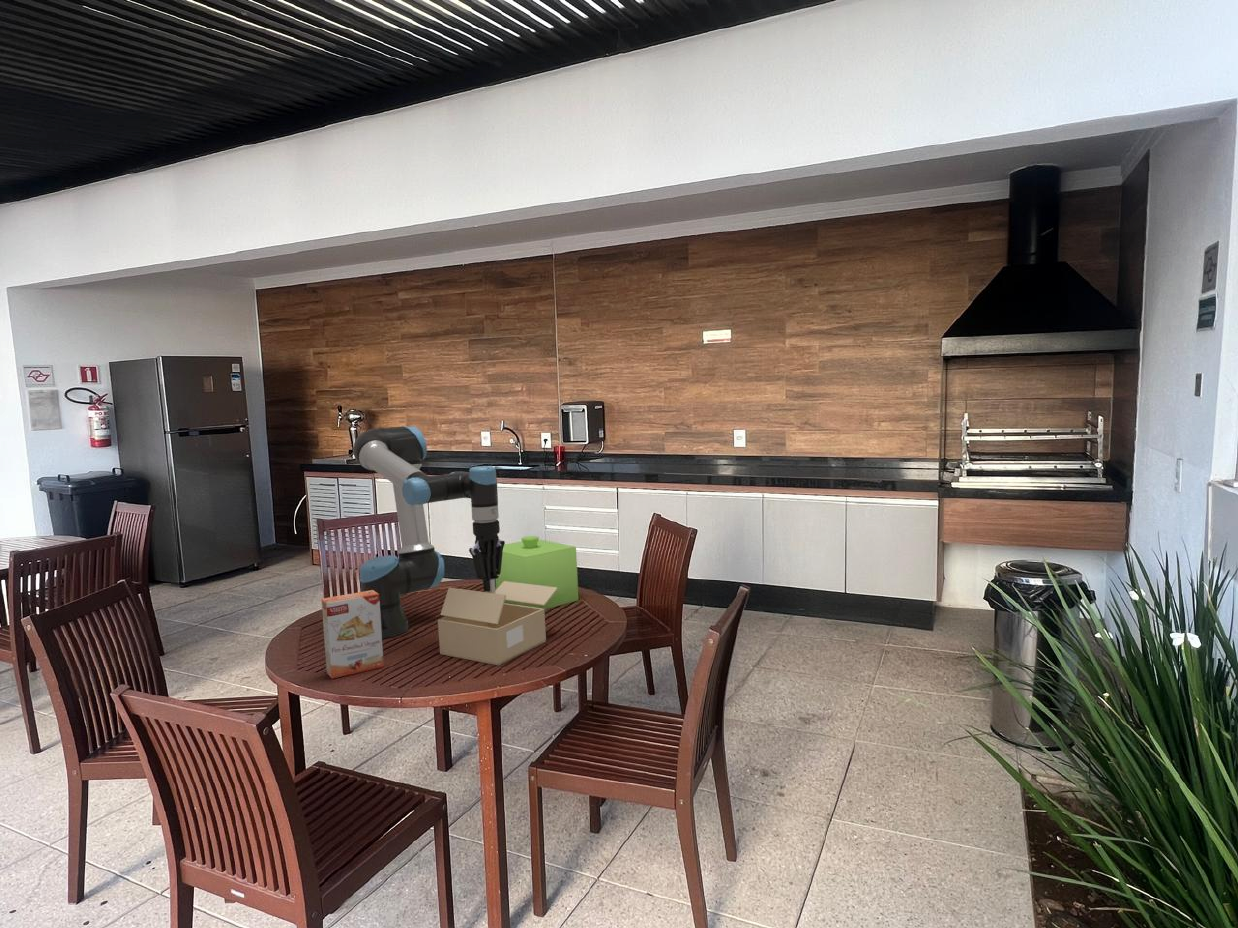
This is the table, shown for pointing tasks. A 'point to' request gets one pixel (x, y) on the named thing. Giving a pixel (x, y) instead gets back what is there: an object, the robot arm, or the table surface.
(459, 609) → the flap
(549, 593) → the flap
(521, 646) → the carton
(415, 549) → the robot arm
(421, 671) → the table surface
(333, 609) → the cracker box
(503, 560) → the canister
